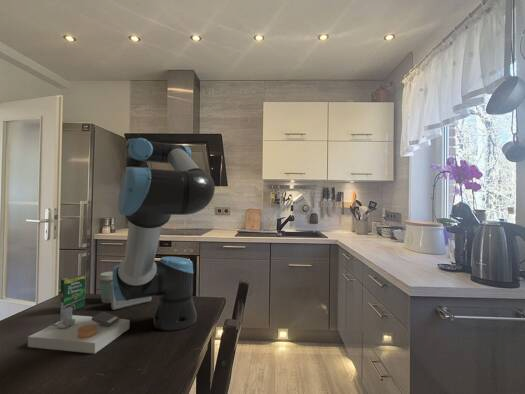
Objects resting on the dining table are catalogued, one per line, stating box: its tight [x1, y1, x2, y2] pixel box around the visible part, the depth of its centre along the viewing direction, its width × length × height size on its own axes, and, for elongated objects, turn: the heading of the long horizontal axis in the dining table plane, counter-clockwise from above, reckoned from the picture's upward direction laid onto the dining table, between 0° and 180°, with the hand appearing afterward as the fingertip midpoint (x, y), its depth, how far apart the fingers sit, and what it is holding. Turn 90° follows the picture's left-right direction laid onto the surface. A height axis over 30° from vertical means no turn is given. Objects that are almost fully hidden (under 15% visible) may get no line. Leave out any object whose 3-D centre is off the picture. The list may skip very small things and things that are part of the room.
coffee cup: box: [98, 270, 113, 304], centre depth 120 cm, size 8×8×12 cm
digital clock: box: [110, 282, 152, 310], centre depth 116 cm, size 16×9×11 cm, turn 122°
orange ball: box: [78, 325, 97, 339], centre depth 83 cm, size 5×5×5 cm
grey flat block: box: [91, 311, 121, 327], centre depth 91 cm, size 6×5×1 cm
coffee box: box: [59, 274, 86, 312], centre depth 109 cm, size 8×3×13 cm, turn 149°
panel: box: [27, 314, 131, 354], centre depth 87 cm, size 22×16×4 cm
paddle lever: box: [56, 307, 75, 328], centre depth 88 cm, size 3×4×5 cm
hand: (134, 238), depth 107 cm, fingers closed
